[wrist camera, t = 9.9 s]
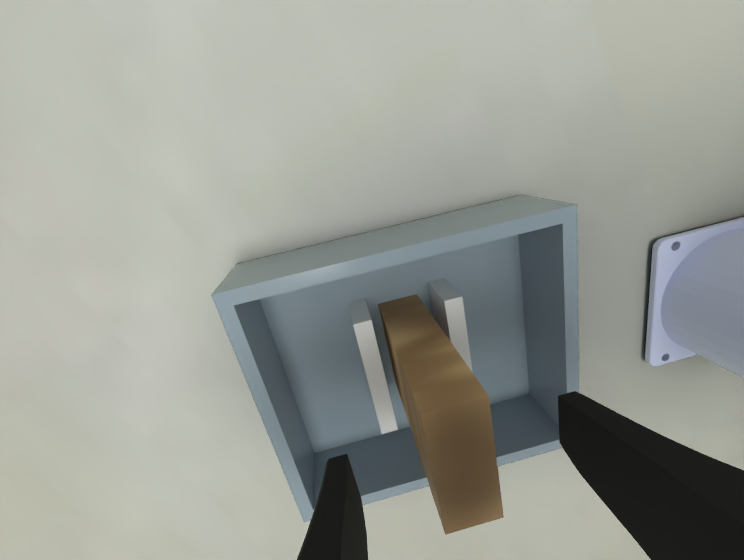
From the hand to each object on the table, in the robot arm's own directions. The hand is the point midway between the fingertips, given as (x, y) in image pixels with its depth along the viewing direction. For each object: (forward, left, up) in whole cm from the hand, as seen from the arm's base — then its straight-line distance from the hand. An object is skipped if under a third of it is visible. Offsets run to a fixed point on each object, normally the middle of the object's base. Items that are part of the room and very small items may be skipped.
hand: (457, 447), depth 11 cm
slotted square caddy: (0, 0, -8) cm, 8 cm away
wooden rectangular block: (0, 0, -7) cm, 7 cm away
